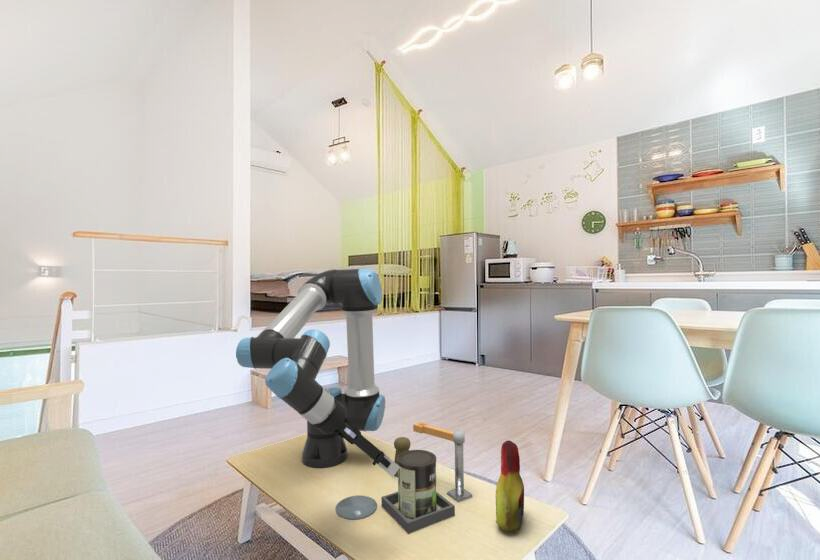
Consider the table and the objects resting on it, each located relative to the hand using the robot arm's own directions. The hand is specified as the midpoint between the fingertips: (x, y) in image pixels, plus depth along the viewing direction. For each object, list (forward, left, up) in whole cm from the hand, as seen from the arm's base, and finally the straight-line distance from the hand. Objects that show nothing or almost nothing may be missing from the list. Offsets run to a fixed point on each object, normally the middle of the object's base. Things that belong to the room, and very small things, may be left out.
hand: (382, 460), depth 101 cm
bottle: (+17, +27, -16) cm, 36 cm away
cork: (-20, +17, -16) cm, 31 cm away
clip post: (0, +24, -16) cm, 29 cm away
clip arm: (-6, +22, 0) cm, 23 cm away
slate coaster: (-10, -3, -16) cm, 19 cm away
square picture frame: (0, +10, -16) cm, 19 cm away
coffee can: (0, +10, -16) cm, 19 cm away
